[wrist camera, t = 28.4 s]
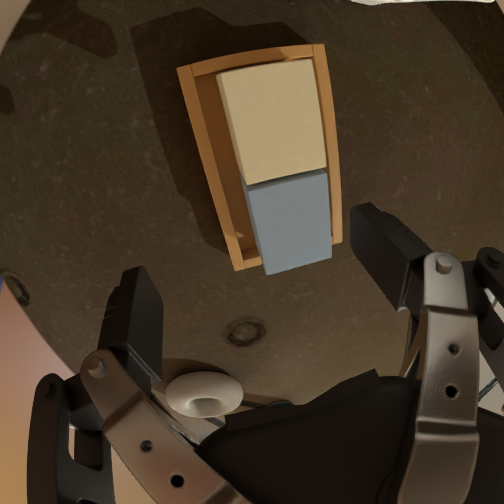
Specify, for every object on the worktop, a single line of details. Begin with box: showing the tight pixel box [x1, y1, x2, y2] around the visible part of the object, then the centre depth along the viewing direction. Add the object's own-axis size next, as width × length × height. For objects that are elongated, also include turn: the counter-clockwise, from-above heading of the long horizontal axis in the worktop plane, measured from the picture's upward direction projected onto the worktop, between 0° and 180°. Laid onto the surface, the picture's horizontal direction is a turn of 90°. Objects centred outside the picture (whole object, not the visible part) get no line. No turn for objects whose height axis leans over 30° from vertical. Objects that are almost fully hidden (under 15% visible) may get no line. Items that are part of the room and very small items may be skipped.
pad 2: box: [238, 168, 332, 275], centre depth 18 cm, size 4×6×4 cm
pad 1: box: [216, 59, 326, 185], centre depth 14 cm, size 4×6×4 cm
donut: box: [165, 371, 243, 418], centre depth 32 cm, size 10×4×10 cm
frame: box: [177, 44, 342, 271], centre depth 18 cm, size 9×15×2 cm, turn 11°
